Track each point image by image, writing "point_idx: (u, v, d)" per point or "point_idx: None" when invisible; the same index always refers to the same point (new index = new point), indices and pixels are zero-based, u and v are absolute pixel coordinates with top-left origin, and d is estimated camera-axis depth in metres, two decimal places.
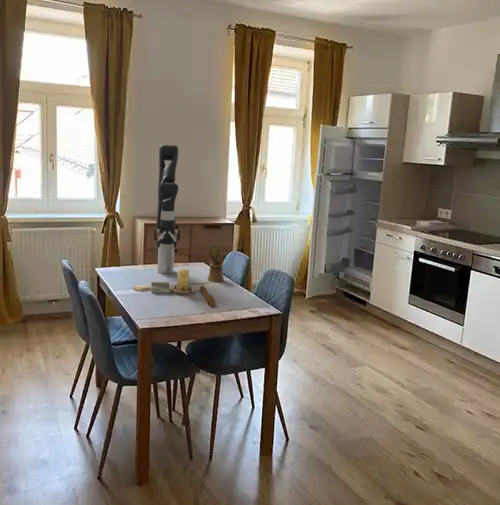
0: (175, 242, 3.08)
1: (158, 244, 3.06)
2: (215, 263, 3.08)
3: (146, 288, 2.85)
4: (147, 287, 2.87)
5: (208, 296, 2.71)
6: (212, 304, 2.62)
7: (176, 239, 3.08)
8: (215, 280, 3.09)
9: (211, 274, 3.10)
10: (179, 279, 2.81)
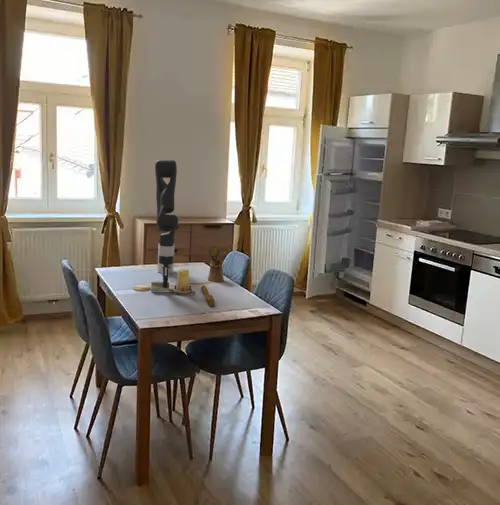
0: None
1: (167, 284, 2.79)
2: (215, 263, 3.08)
3: (146, 288, 2.85)
4: (147, 287, 2.87)
5: (208, 296, 2.71)
6: (211, 304, 2.63)
7: None
8: (215, 280, 3.09)
9: (211, 274, 3.10)
10: (179, 279, 2.81)
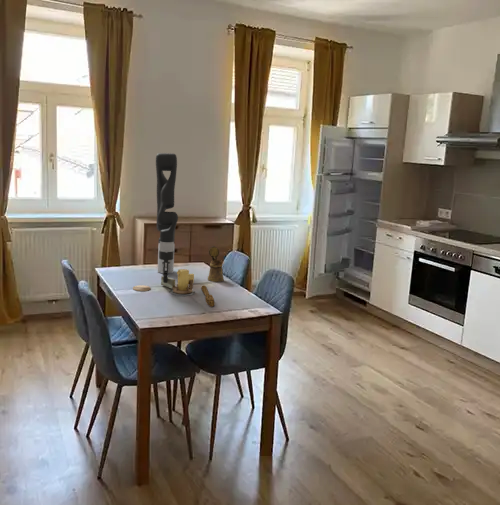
0: None
1: (167, 279, 2.88)
2: (215, 263, 3.08)
3: (146, 288, 2.85)
4: (147, 287, 2.87)
5: (208, 296, 2.71)
6: (211, 304, 2.63)
7: None
8: (215, 280, 3.09)
9: (211, 274, 3.10)
10: None
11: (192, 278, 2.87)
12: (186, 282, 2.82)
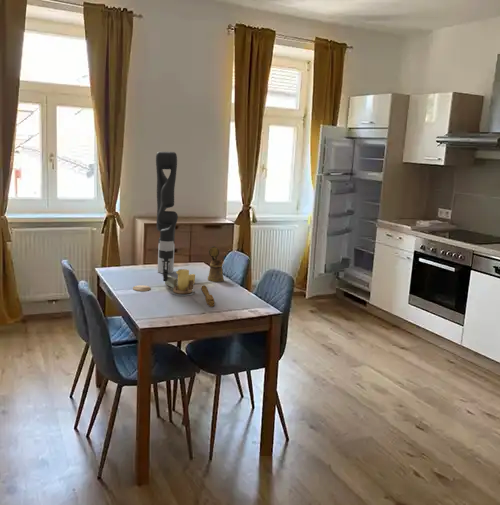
0: None
1: (167, 277, 2.91)
2: (215, 263, 3.08)
3: (146, 288, 2.85)
4: (147, 287, 2.87)
5: (208, 296, 2.71)
6: (211, 304, 2.63)
7: None
8: (215, 280, 3.09)
9: (211, 274, 3.10)
10: None
11: (193, 278, 2.86)
12: (185, 282, 2.81)
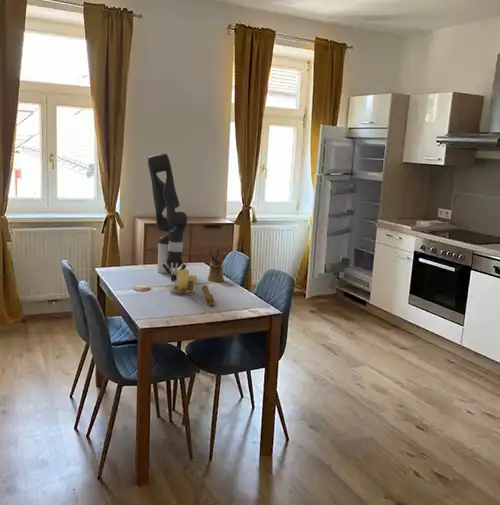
0: None
1: None
2: (215, 263, 3.08)
3: (146, 288, 2.85)
4: (147, 287, 2.87)
5: (208, 295, 2.72)
6: (211, 303, 2.63)
7: None
8: (215, 280, 3.09)
9: (211, 274, 3.10)
10: None
11: (194, 279, 2.84)
12: (183, 282, 2.81)
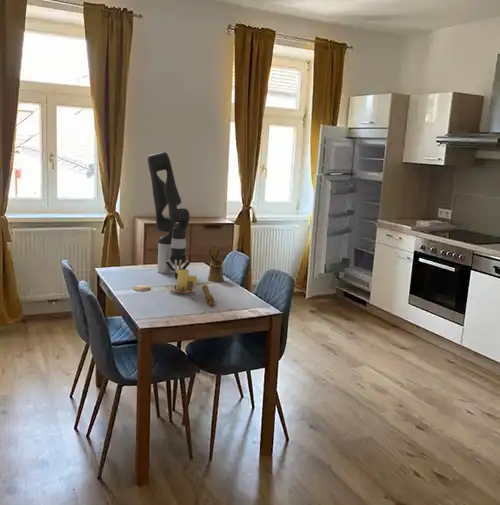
0: (175, 272, 2.92)
1: None
2: (215, 263, 3.08)
3: (146, 288, 2.85)
4: (147, 287, 2.87)
5: (208, 295, 2.72)
6: (211, 303, 2.63)
7: None
8: (215, 280, 3.09)
9: (211, 274, 3.10)
10: None
11: (194, 280, 2.84)
12: (183, 282, 2.81)
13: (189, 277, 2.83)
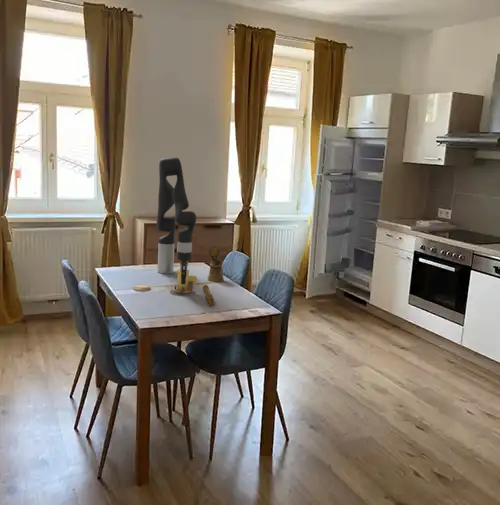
0: None
1: (185, 280, 2.80)
2: (215, 263, 3.08)
3: (146, 288, 2.85)
4: (147, 287, 2.87)
5: (208, 295, 2.72)
6: (210, 303, 2.64)
7: None
8: (215, 280, 3.09)
9: (211, 274, 3.10)
10: None
11: (194, 280, 2.84)
12: None
13: (189, 277, 2.83)
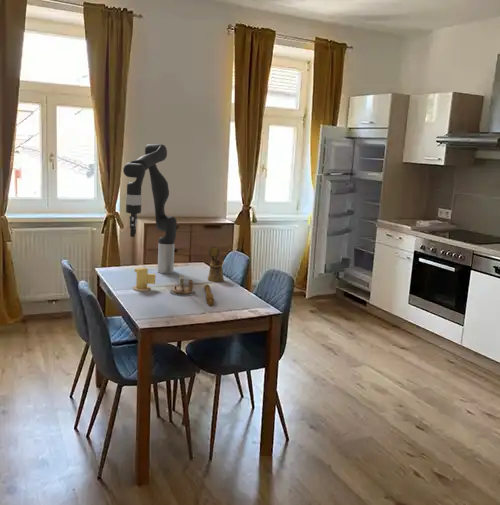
0: (135, 227, 2.84)
1: (134, 233, 2.75)
2: (215, 263, 3.08)
3: (146, 288, 2.85)
4: (147, 287, 2.87)
5: (208, 295, 2.73)
6: (210, 303, 2.64)
7: (135, 224, 2.84)
8: (215, 280, 3.09)
9: (211, 274, 3.10)
10: None
11: (153, 278, 2.86)
12: (141, 281, 2.83)
13: (148, 276, 2.85)
